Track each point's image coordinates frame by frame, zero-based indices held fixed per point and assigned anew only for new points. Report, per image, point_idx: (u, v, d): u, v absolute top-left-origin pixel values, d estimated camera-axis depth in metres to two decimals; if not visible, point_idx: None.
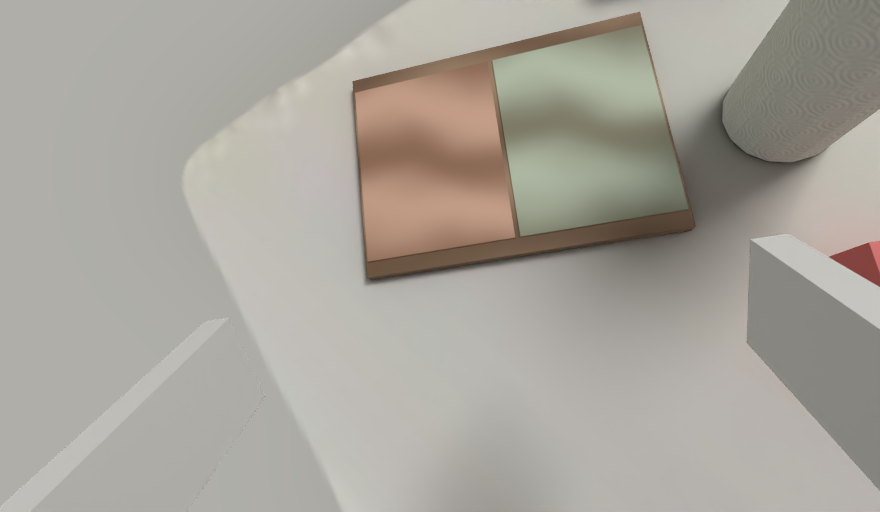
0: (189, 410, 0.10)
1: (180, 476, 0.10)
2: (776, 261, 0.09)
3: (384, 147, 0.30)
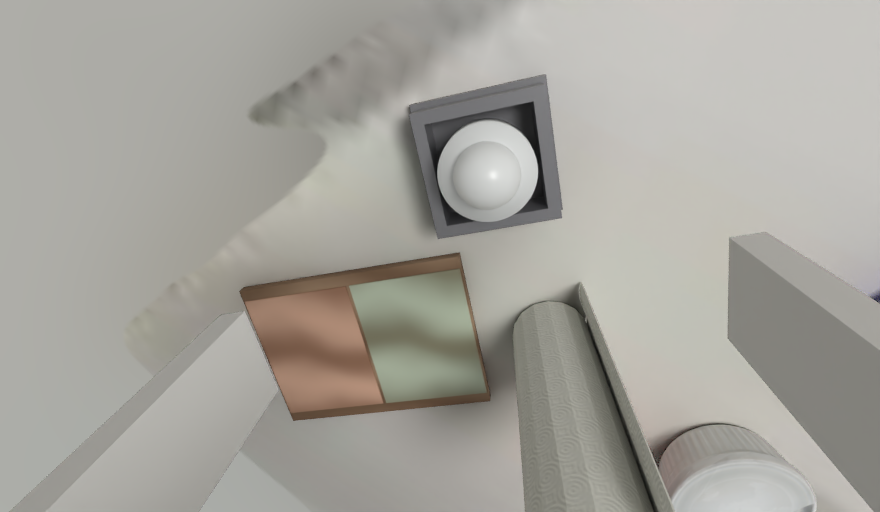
0: (208, 401, 0.11)
1: (199, 466, 0.10)
2: (752, 258, 0.09)
3: (280, 343, 0.40)
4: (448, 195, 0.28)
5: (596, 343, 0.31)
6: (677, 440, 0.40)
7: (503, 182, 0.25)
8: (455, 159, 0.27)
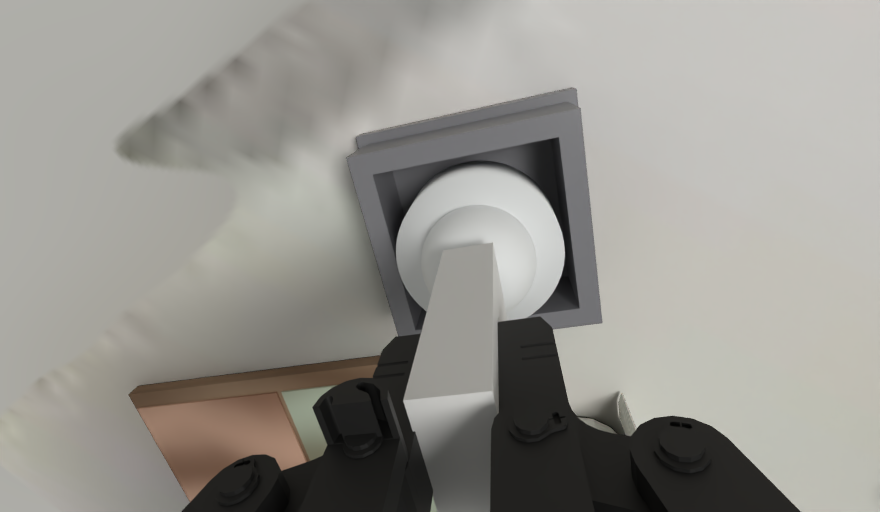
0: None
1: None
2: None
3: (193, 461, 0.29)
4: (415, 288, 0.17)
5: None
6: None
7: (505, 284, 0.14)
8: (425, 233, 0.16)
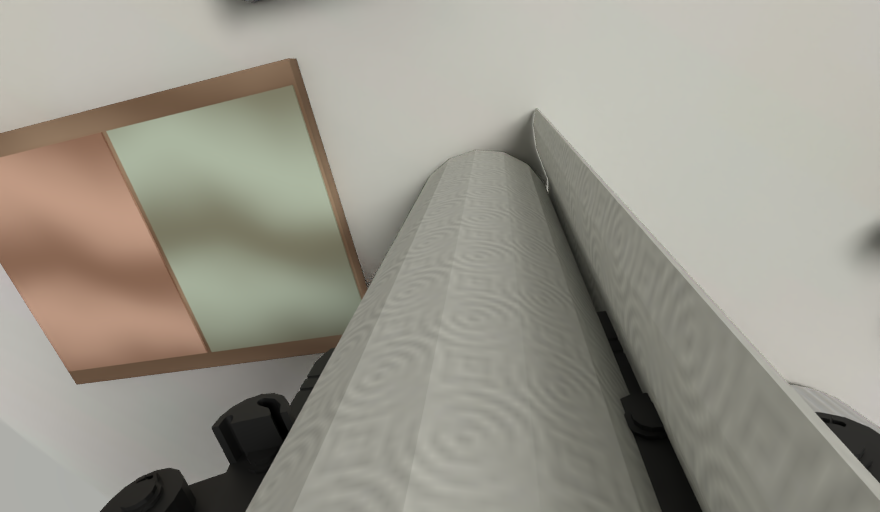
0: None
1: None
2: None
3: (23, 248, 0.24)
4: None
5: (553, 182, 0.14)
6: None
7: None
8: None
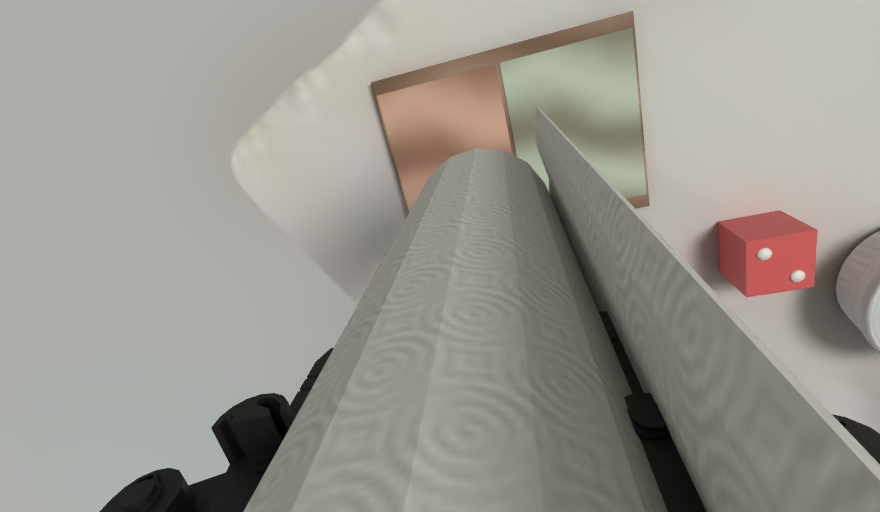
0: None
1: None
2: None
3: (413, 148, 0.36)
4: None
5: (553, 180, 0.14)
6: (865, 241, 0.35)
7: None
8: None
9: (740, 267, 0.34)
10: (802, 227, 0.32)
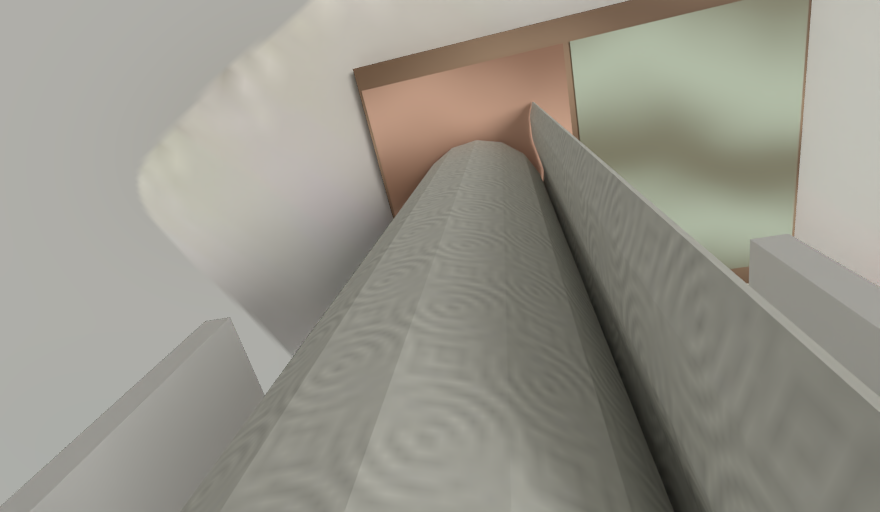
0: (189, 410, 0.10)
1: (180, 476, 0.10)
2: (776, 261, 0.09)
3: (419, 176, 0.23)
4: None
5: (544, 162, 0.15)
6: None
7: None
8: None
9: None
10: None
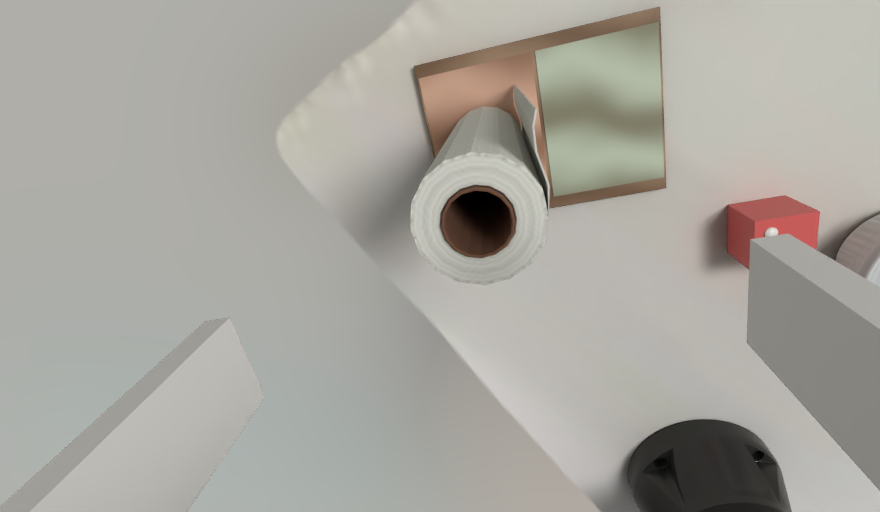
0: (189, 410, 0.10)
1: (180, 476, 0.10)
2: (776, 261, 0.09)
3: (449, 128, 0.39)
4: None
5: (518, 112, 0.32)
6: (861, 225, 0.38)
7: None
8: None
9: (748, 245, 0.37)
10: (806, 209, 0.35)
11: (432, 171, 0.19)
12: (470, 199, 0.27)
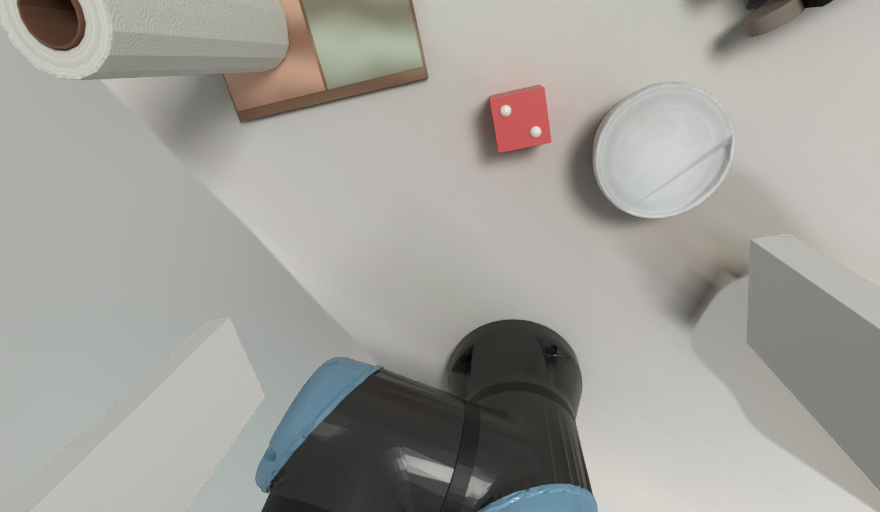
0: (189, 410, 0.10)
1: (180, 476, 0.10)
2: (776, 261, 0.09)
3: None
4: None
5: None
6: (608, 112, 0.41)
7: None
8: None
9: None
10: (537, 88, 0.38)
11: None
12: None
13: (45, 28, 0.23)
